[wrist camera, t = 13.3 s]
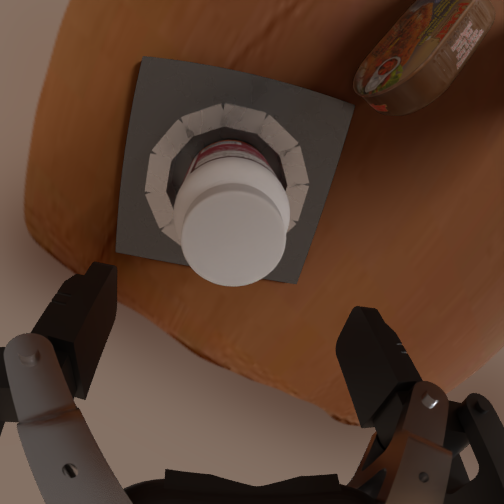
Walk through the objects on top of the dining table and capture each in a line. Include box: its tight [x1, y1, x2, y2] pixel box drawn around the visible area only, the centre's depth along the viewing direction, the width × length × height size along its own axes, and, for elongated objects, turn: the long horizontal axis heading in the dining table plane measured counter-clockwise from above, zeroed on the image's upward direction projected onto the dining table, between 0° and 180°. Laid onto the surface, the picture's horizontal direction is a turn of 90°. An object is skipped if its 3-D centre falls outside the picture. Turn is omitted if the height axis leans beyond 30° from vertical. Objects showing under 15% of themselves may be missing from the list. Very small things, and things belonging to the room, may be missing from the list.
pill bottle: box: [173, 140, 290, 286], centre depth 19 cm, size 6×6×11 cm
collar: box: [116, 56, 355, 284], centre depth 23 cm, size 16×16×4 cm
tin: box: [353, 0, 495, 116], centre depth 16 cm, size 15×3×8 cm, turn 143°
